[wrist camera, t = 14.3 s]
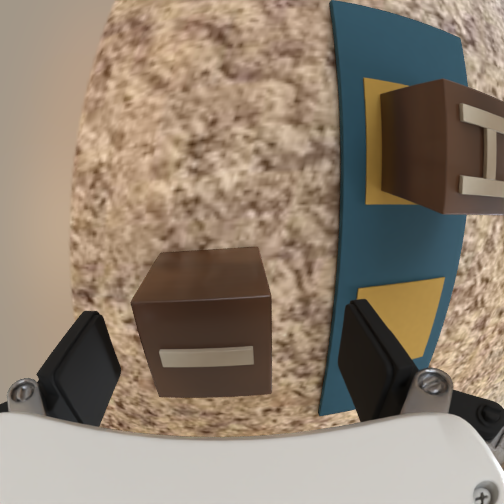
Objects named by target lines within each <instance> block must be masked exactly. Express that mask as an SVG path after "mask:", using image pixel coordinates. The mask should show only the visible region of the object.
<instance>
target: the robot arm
mask: <svg viewBox="0 0 504 504" xmlns="http://www.w3.org/2000/svg"><path fill="white" fill-rule="evenodd" d="M338 367H339V370H340V372H341V374H342V377H343V379H344V382H345V384H346V387H347V389H348V391H349V394H350V396H351V399H352V401H353V404H354V406H355V409H356V411H357V414H358V416H359V419H360V421H361V422H359V423H354V424H349V425H343V426H337V427H331V428H324V429H318V430H311V431H303V432H295V433H285V434H274V435H261V436H240V437H191V436H171V435H158V434H147V433H137V432H129V431H122V430H115V429H108V428H102V427H99V426H100V423H101V421H102V418H103V416H104V413H105V411H106V408H107V406H108V403H109V401H110V398H111V396H112V394H113V391H114V389H115V386H116V384H117V382H118V379H119V377H120V374H121V367H120V364H119V362H118V359H117V356H116V354H115V351H114V348H113V345H112V342H111V339H110V336H109V334H108V330H107V327H106V324H105V321H104V318H103V316H102V315H100V314H99V313H98V312H97V311H84V312H83V313H82V314H81V315H80V316H79V318H78V319H77V320H76V321H75V323H74V324H73V325H72V327H71V328H70V329H69V330H68V332H67V333H66V334H65V336H64V337H63V338H62V340H61V341H60V342H59V344H58V345H57V346H56V348H55V349H54V350H53V352H52V353H51V354H50V356H49V357H48V359H47V360H46V361H45V363H44V364H43V366H42V367H41V368H40V370H39V371H38V373H37V376H38V378H39V381H38V382H36V381H35V380H34V379H30V378H24V379H20V380H18V381H17V382H15V383H14V384H12V386H11V387H10V388H9V390H8V392H7V402H4V403H2V404H0V504H504V409H503V408H502V406H500V405H499V404H498V403H496V402H494V401H491V400H487V399H483V398H480V397H476V396H473V395H469V394H466V393H463V392H459V391H456V390H453V382H452V379H451V377H450V376H449V375H448V374H447V373H445V372H444V371H442V370H440V369H437V368H424V369H421V370H419V369H418V368H417V366H416V365H415V363H414V362H413V360H412V359H411V358H410V356H409V355H408V353H407V352H406V351H405V349H404V348H403V346H402V345H401V344H400V342H399V341H398V340H397V338H396V337H395V335H394V334H393V333H392V331H391V330H390V329H388V327H387V326H386V325H385V323H384V322H383V321H382V319H381V318H380V317H379V315H378V314H377V313H376V311H375V310H374V309H373V307H372V306H371V305H370V303H369V302H368V301H367V300H366V299H357V300H351V301H350V304H347V305H346V306H345V313H344V320H343V328H342V335H341V341H340V348H339V354H338Z"/></svg>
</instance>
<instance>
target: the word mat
mask: <svg viewBox="0 0 504 504" xmlns="http://www.w3.org/2000/svg"><path fill="white" fill-rule="evenodd" d="M329 4H330V11H331V19H332V27H333V35H334V44H335V54H336V65H337V78H338V93H339V113H340V149H341V185H340V222H339V242H338V259H337V273H336V285H335V296H334V306H333V315H332V324H331V333H330V341H329V348H328V356H327V363H326V369H325V376H324V382H323V388H322V394H321V400H320V406H319V411H318V413H319V416H324V415H329V414H335V413H340V412H345V411H350V410H354V409H355V406H354V404H353V401H352V399H351V396H350V394H349V391H348V389H347V387H346V384H345V382H344V379H343V377H342V374H341V372H340V370H339V367H338V354H339V348H340V341H341V335H342V328H343V320H344V313H345V306H346V305H347V304H350V301H351V300H357V299H366V300H367V301H368V302H369V303H370V305H371V306H372V307H373V309H374V310H375V311H376V313H377V314H378V315H379V317H380V318H381V319H382V321H383V322H384V323H385V325H386V326H387V327H388V329H390V330H391V331H392V333H393V334H394V335H395V337H396V338H397V340H398V341H399V342H400V344H401V345H402V346H403V348H404V349H405V351H406V352H407V353H408V355H409V356H410V358H411V359H412V360H413V362H414V363H415V365H416V366H417V368H418V369H419V370H421V369H424V368H428V366H429V363H430V361H431V358H432V355H433V353H434V350H435V347H436V344H437V341H438V338H439V336H440V332H441V329H442V326H443V323H444V320H445V316H446V313H447V309H448V306H449V302H450V299H451V295H452V291H453V287H454V283H455V278H456V274H457V269H458V264H459V259H460V254H461V249H462V243H463V237H464V230H465V223H466V215H443V214H441V213H438V212H436V211H433V210H431V209H428V208H426V207H423V206H421V205H418V204H416V203H413V202H411V201H408V200H405V199H403V198H400V197H397V196H394V195H392V194H389V193H386V192H383V191H381V181H382V122H381V100H380V94H382V93H385V92H389V91H393V90H396V89H400V88H404V87H408V86H412V85H416V84H420V83H425V82H429V81H433V80H438V79H443V78H444V79H447V80H450V81H453V82H456V83H459V84H461V85H464V86H467V87H468V83H467V75H466V68H465V61H464V55H463V49H462V44H461V39H460V38H459V37H457V36H454V35H452V34H450V33H447V32H445V31H443V30H440V29H438V28H435V27H432V26H430V25H427V24H424V23H422V22H419V21H416V20H413V19H410V18H407V17H403V16H400V15H397V14H393V13H390V12H386V11H382V10H379V9H375V8H370V7H366V6H362V5H357V4H352V3H347V2H341V1H335V0H331V1H330V3H329Z"/></svg>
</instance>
